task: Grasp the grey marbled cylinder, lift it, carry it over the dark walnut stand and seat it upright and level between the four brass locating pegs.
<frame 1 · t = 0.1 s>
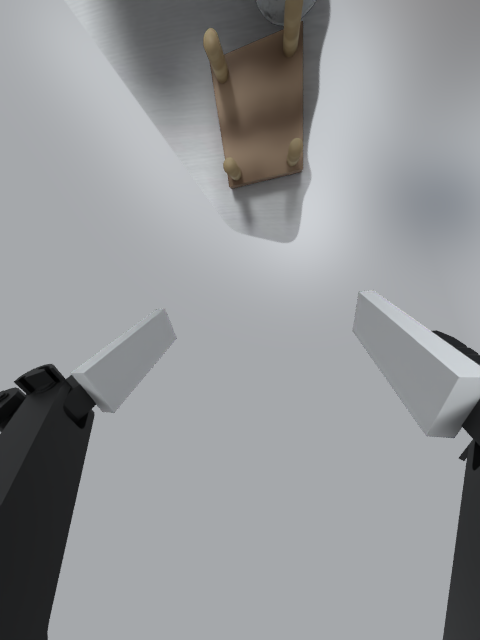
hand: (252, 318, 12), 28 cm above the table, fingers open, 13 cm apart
peg stand: (260, 125, 27), on the table
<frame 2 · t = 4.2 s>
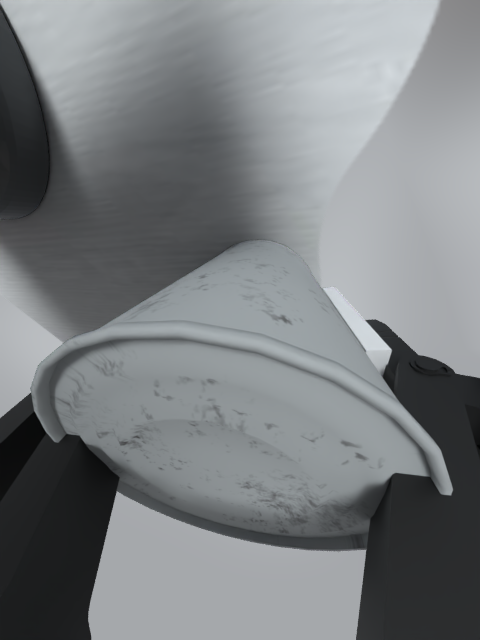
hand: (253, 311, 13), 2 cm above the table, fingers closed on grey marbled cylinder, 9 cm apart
grey marbled cylinder: (256, 299, 15), on the table, touching gripper
when the fingers open (6 cm above the table, at t = 9.7 s): grey marbled cylinder drops 1 cm, resting on peg stand.
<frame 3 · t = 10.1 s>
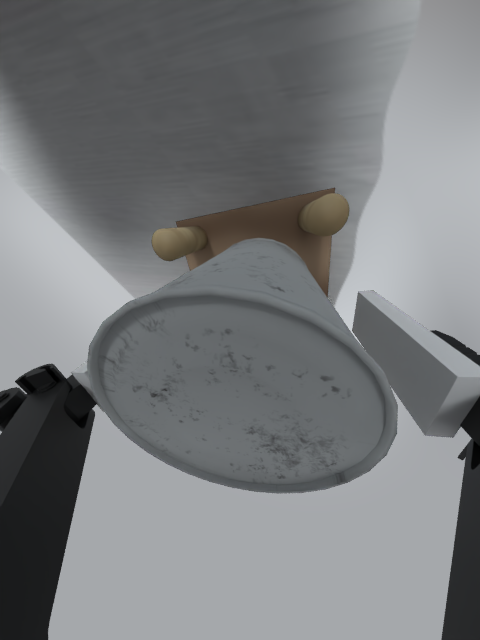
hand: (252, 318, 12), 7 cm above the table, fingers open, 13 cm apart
grey marbled cylinder: (257, 293, 17), point 2 cm above the table, touching peg stand
peg stand: (259, 287, 18), on the table
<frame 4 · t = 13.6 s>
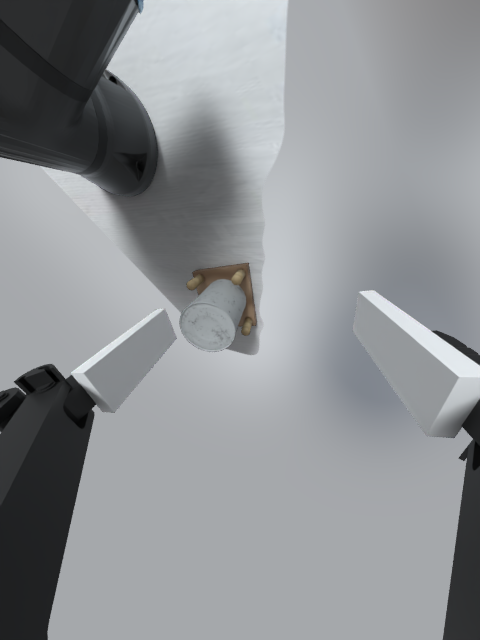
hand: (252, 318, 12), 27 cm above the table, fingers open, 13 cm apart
grey marbled cylinder: (225, 299, 40), point 2 cm above the table, touching peg stand
peg stand: (227, 296, 41), on the table
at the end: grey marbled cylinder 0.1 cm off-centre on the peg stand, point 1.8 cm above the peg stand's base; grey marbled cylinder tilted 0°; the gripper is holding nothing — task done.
